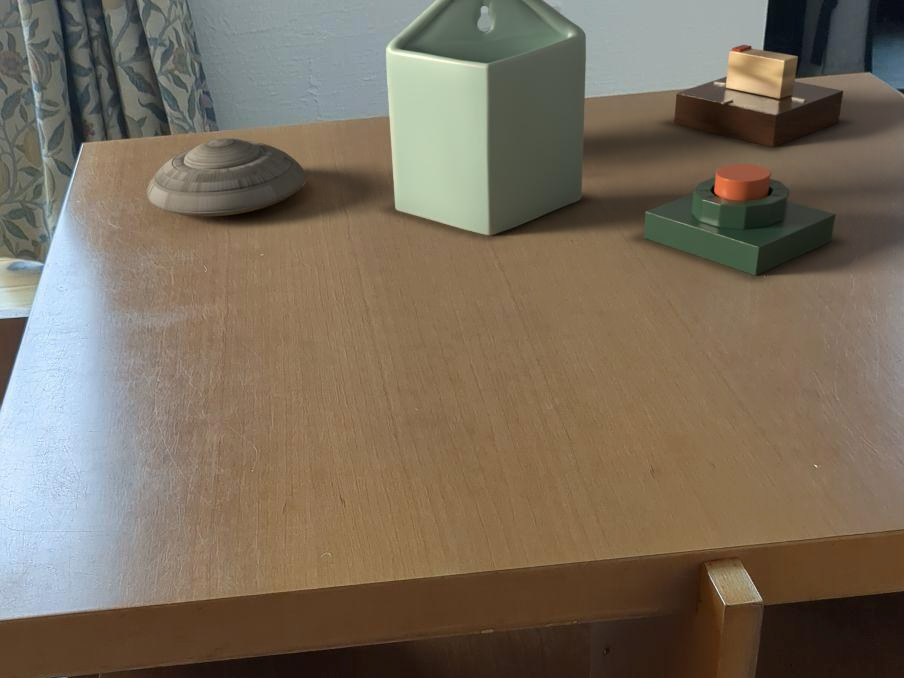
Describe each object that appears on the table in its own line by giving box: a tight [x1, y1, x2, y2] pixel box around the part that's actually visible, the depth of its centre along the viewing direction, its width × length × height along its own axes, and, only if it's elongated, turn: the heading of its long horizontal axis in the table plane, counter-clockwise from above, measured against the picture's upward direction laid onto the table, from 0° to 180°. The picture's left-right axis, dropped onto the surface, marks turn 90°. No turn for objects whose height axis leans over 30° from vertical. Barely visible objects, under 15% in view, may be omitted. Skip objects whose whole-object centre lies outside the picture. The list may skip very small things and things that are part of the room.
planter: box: [385, 0, 587, 237], centre depth 93 cm, size 16×8×20 cm, turn 87°
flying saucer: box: [145, 137, 308, 217], centre depth 106 cm, size 15×15×6 cm
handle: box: [726, 44, 799, 99], centre depth 111 cm, size 6×2×4 cm, turn 36°
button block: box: [643, 176, 836, 276], centre depth 90 cm, size 11×9×4 cm
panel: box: [673, 76, 844, 148], centre depth 113 cm, size 12×11×3 cm
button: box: [714, 163, 772, 201], centre depth 88 cm, size 4×4×2 cm
